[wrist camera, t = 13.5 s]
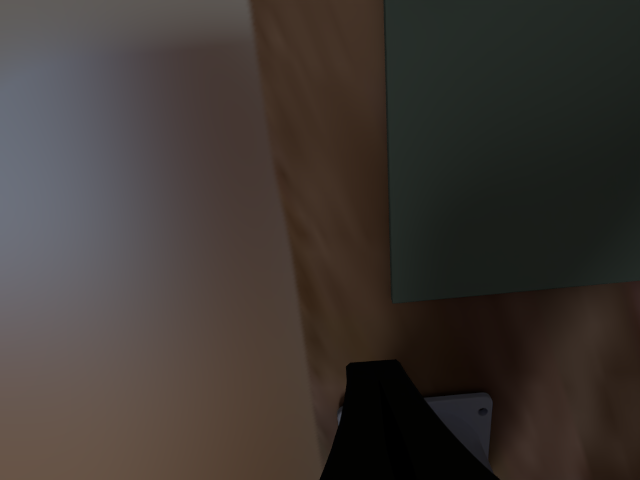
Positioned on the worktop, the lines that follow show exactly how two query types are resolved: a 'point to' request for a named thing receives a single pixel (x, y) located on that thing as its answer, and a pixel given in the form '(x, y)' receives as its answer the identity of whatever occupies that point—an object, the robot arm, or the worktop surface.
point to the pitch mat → (512, 145)
